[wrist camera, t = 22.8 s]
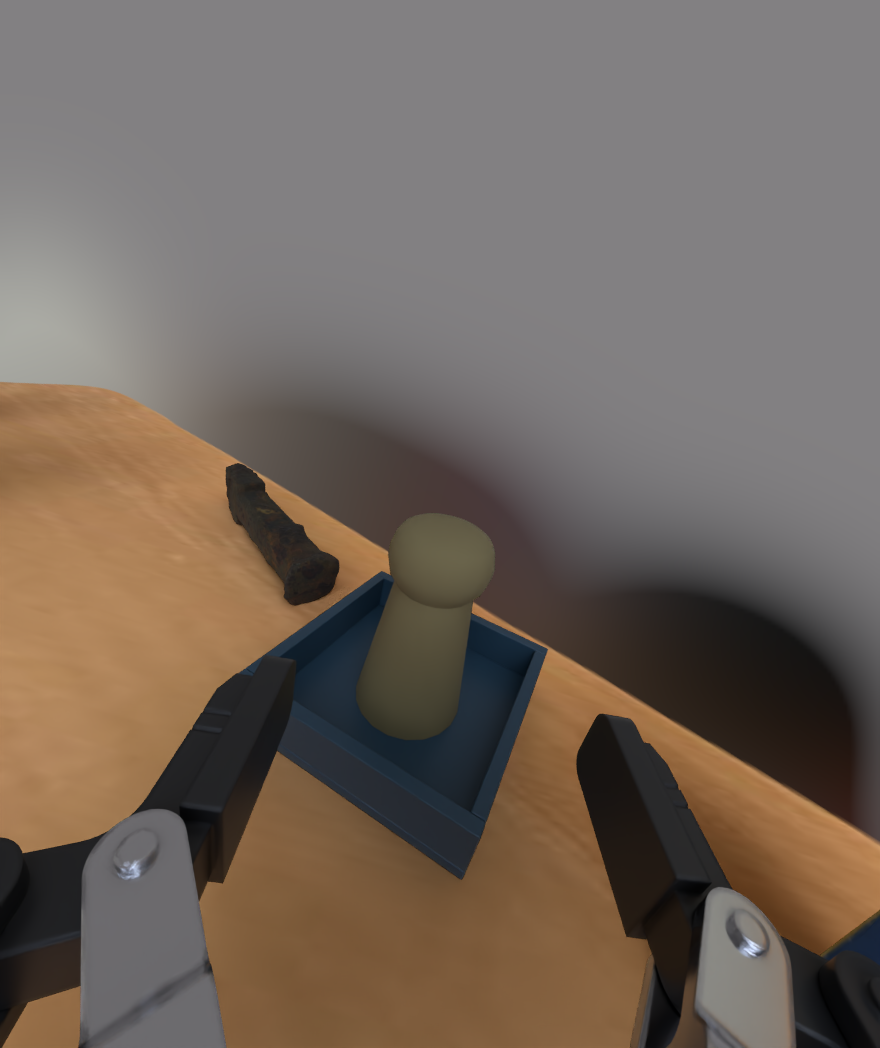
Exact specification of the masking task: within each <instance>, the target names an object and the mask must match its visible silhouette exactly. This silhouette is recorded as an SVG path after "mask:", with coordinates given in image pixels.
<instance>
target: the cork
mask: <svg viewBox="0 0 880 1048" xmlns="http://www.w3.org/2000/svg"><path fill="white" fill-rule="evenodd" d="M388 557H389V566H390V574H391V575H392V577H393V579H394V583H393V586H392V588H391V591H390V594H389V597H388V599H387V602H386V605H385V608H384V610H383V613H382V616H381V619H380V621H379V624H378V627H377V630H376V632H375V635H374V638H373V641H372V644H371V646H370V649H369V652H368V655H367V657H366V660H365V663H364V666H363V668H362V671H361V674H360V677H359V679H358V682H357V685H356V701H357V704H358V706H359V709H360V711H361V714H362V715H363V716H364V717H365V718H366V719H367V720H368V722H369V723H370V724H371V725H372V726H373V727H375V728H376V729H378V730H380V731H381V732H383V733H385V734H386V735H388V736H392V737H396V738H399V739H403V740H424V739H427V738H430V737H433V736H436V735H438V734H440V733H441V732H442V731H444V730H445V729H446V728H447V727H449V726H450V725H451V723H452V721H453V720H454V718H455V716H456V714H457V710H458V703H459V696H460V689H461V682H462V675H463V668H464V661H465V654H466V647H467V640H468V633H469V626H470V619H471V612H472V605H473V600H475V599H476V598H478V597H480V595H481V594H482V593H483V591H484V590H485V589H486V587H487V585H488V584H489V583H490V581H491V579H492V576H493V573H494V570H495V551H494V547H493V544H492V542H491V540H490V538H489V537H488V535H486V534H485V533H484V532H483V531H482V530H481V529H479V528H478V527H477V526H475V525H474V524H472V523H470V522H468V521H466V520H463V519H461V518H458V517H454V516H450V515H446V514H438V513H426V514H422V515H417V516H413V517H411V518H409V519H407V520H405V521H404V522H403V523H402V524H401V525H400V526H399V527H398V529H397V531H396V532H395V534H394V536H393V539H392V540H391V543H390V547H389V553H388Z"/></svg>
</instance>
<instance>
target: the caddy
mask: <svg viewBox="0 0 880 1048" xmlns="http://www.w3.org/2000/svg"><path fill="white" fill-rule="evenodd" d="M393 583H394V579H393V577H392V576H391V575H389V574H387V573H385V572H383V571H381V572H380V573H378V574H377V575H375V576H374V577H373V578H371V579H370V580H368V581H367V582H366V583H364V584H363V585H361V586H360V587H359V588H357V589H356V590H354V591H353V592H352V593H350V594H349V595H347V596H346V597H345V598H343V599H342V600H340V601H339V602H338V603H336V604H335V605H333V606H332V607H331V608H329V609H328V610H326V611H325V612H324V613H322V614H321V615H319V616H318V617H317V618H315V619H314V620H312V621H311V622H310V623H308V624H307V625H305V626H304V627H303V628H301V629H300V630H298V631H297V632H296V633H294V634H293V635H291V636H290V637H289V638H287V639H286V640H284V641H283V642H282V643H280V644H279V645H277V646H276V647H275V648H273V649H272V650H270V651H269V652H268V653H266V654H265V655H270V656H275V657H281V658H287V659H293V660H296V674H295V684H294V695H293V704H292V709H291V713H290V717H289V720H288V724H287V726H286V729H285V732H284V734H283V737H282V739H281V742H280V744H279V746H278V749H277V751H278V752H280V753H281V754H283V755H284V756H286V757H287V758H288V759H290V760H291V761H293V762H294V763H296V764H297V765H298V766H300V767H301V768H303V769H304V770H306V771H307V772H308V773H310V774H311V775H313V776H314V777H315V778H317V779H318V780H320V781H321V782H323V783H324V784H325V785H327V786H328V787H330V788H331V789H333V790H334V791H335V792H337V793H338V794H340V795H341V796H343V797H344V798H345V799H347V800H348V801H350V802H351V803H353V804H354V805H355V806H357V807H358V808H360V809H361V810H362V811H364V812H365V813H367V814H368V815H370V816H371V817H372V818H374V819H375V820H377V821H378V822H380V823H381V824H382V825H384V826H385V827H387V828H388V829H390V830H391V831H392V832H394V833H395V834H397V835H398V836H400V837H401V838H402V839H404V840H405V841H407V842H408V843H409V844H411V845H412V846H414V847H415V848H417V849H418V850H419V851H421V852H422V853H424V854H425V855H427V856H428V857H429V858H431V859H432V860H434V861H435V862H437V863H438V864H439V865H441V866H442V867H444V868H445V869H447V870H448V871H449V872H451V873H452V874H454V875H455V876H456V877H458V878H459V879H461V880H462V879H463V877H464V875H465V872H466V870H467V868H468V865H469V863H470V861H471V859H472V856H473V854H474V852H475V850H476V847H477V845H478V843H479V841H480V838H481V835H482V833H483V830H484V827H485V824H486V821H487V819H488V816H489V813H490V810H491V807H492V805H493V802H494V799H495V796H496V793H497V791H498V788H499V785H500V782H501V779H502V777H503V774H504V771H505V768H506V765H507V763H508V760H509V757H510V754H511V751H512V749H513V746H514V743H515V740H516V737H517V735H518V732H519V729H520V726H521V723H522V721H523V718H524V715H525V712H526V709H527V707H528V704H529V701H530V698H531V695H532V693H533V690H534V687H535V684H536V681H537V679H538V676H539V673H540V670H541V667H542V665H543V662H544V659H545V656H546V653H547V651H548V649H547V648H545V647H542V646H540V645H538V644H536V643H534V642H532V641H530V640H528V639H525V638H523V637H521V636H519V635H517V634H515V633H513V632H510V631H508V630H506V629H504V628H502V627H500V626H498V625H496V624H493V623H491V622H489V621H487V620H485V619H483V618H481V617H478V616H476V615H474V614H472V613H471V619H470V626H469V633H468V640H467V647H466V654H465V661H464V668H463V675H462V682H461V689H460V696H459V703H458V710H457V714H456V716H455V718H454V720H453V721H452V723H451V725H450V726H449V727H447V728H446V729H445V730H444V731H442V732H441V733H440V734H438V735H436V736H433V737H430V738H427V739H424V740H403V739H399V738H396V737H392V736H388V735H386V734H385V733H383V732H381V731H380V730H378V729H376V728H375V727H373V726H372V725H371V724H370V723H369V722H368V720H367V719H366V718H365V717H364V716H363V715H362V714H361V711H360V709H359V706H358V704H357V701H356V685H357V682H358V679H359V677H360V674H361V671H362V668H363V666H364V663H365V660H366V657H367V655H368V652H369V649H370V646H371V644H372V641H373V638H374V635H375V632H376V630H377V627H378V624H379V621H380V619H381V616H382V613H383V610H384V608H385V605H386V602H387V599H388V597H389V594H390V591H391V588H392V586H393ZM265 655H263V656H262V657H261V658H259V659H258V660H257V661H255V662H254V663H252V664H251V665H250V666H248V667H247V668H246V669H244V670H243V671H241V672H240V673H238V674H244V675H250V676H253V674H254V672H255V671H256V669H257V667H258V665H259V664H260V662H261V660H262V659H263V657H264V656H265Z"/></svg>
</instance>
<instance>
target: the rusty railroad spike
mask: <svg viewBox="0 0 880 1048" xmlns="http://www.w3.org/2000/svg"><path fill="white" fill-rule="evenodd" d="M226 486H227V497H228V499H229V508H230V511H231V512H232V516H233V519H234V521H235V522H236V524H240V525H243V526H244V528H245V529H246V530H247V532H248V533H249V536H250V538H251V539H252V541H253V542H255V543H256V545H257V546H258V548H259V549H260V550H261V553H262V554H263V556H264V557H265V559H266V561H267V563H268V564H269V565H270V566H271V567H272V568H273V569H274V570H275V571H276V573H277V574H278V575H279V577H280V578H281V579H282V580H283V582H284V584H285V587H284V590H285V594H284V598H285V599H286V600H287V601H288V602H289V603H290V604H292V605H299V604H302V603H307V602H311V601H314V600H316V599H319V598H321V597H323V596H325V595H327V594H328V593H329V592H330V591H331V590H332V589H333V587H334V585H335V579H336V577H337V574H338V572H339V561H338V560H337V559H336V558H335V557H334V556H332V555H330V554H328V553H325V552H323V551H321V550H319V549H318V548H317V546H316V545H315V544H314V543H313V542H312V541H311V540H310V539H309V538H308V537H307V535H306V533H305V531H304V527H303V526H302V525H299V524H295V523H294V522H293V521H292V520H291V519H290V518H289V517H288V516H287V515H286V514H285V513H284V511H282V510H281V509H280V507H279V506H278V505H277V504H276V503H275V502H274V501H273V500H272V499H271V498H270V497H269V496H268V494H267V492H265V483H264V482H263V480H262V479H260V478H259V477H258V476H257V474H256V473H254V472H253V470H251V469H249V468H247V467H246V466H244V465H242V464H239V463H237V464H234V465H231V466H229V467H226Z"/></svg>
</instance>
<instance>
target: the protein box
mask: <svg viewBox="0 0 880 1048" xmlns="http://www.w3.org/2000/svg"><path fill="white" fill-rule="evenodd" d="M845 950H849V951H854V952H858V953H860V954H862V955H864V956H866V957H868V958H870V959H871V960H873V961H874V962H876V963H877V964H878V965H880V910H879V911H878V912H877V913H875V914H874V915H872V916H871V917H870V918H868V919H867V920H866V921H864V922H863V923H862V924H860V925H859V926H858V927H856V928H855V929H854V930H852V931H851V932H850V933H848V934H847V935H846V936H844V937H843V938H842V939H840V940H839V941H838V942H837V943H835V944H834V945H833V946H831V947H830V948H829V949H827V950H826V951H825V952H823V953H822V954H821V955H820V956H821V957H823V958H825V959H827V960H829V961H830V960H831V959H832V958H834V957H835V956H836V955H838V954H839V953H840V952H842V951H845Z"/></svg>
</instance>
